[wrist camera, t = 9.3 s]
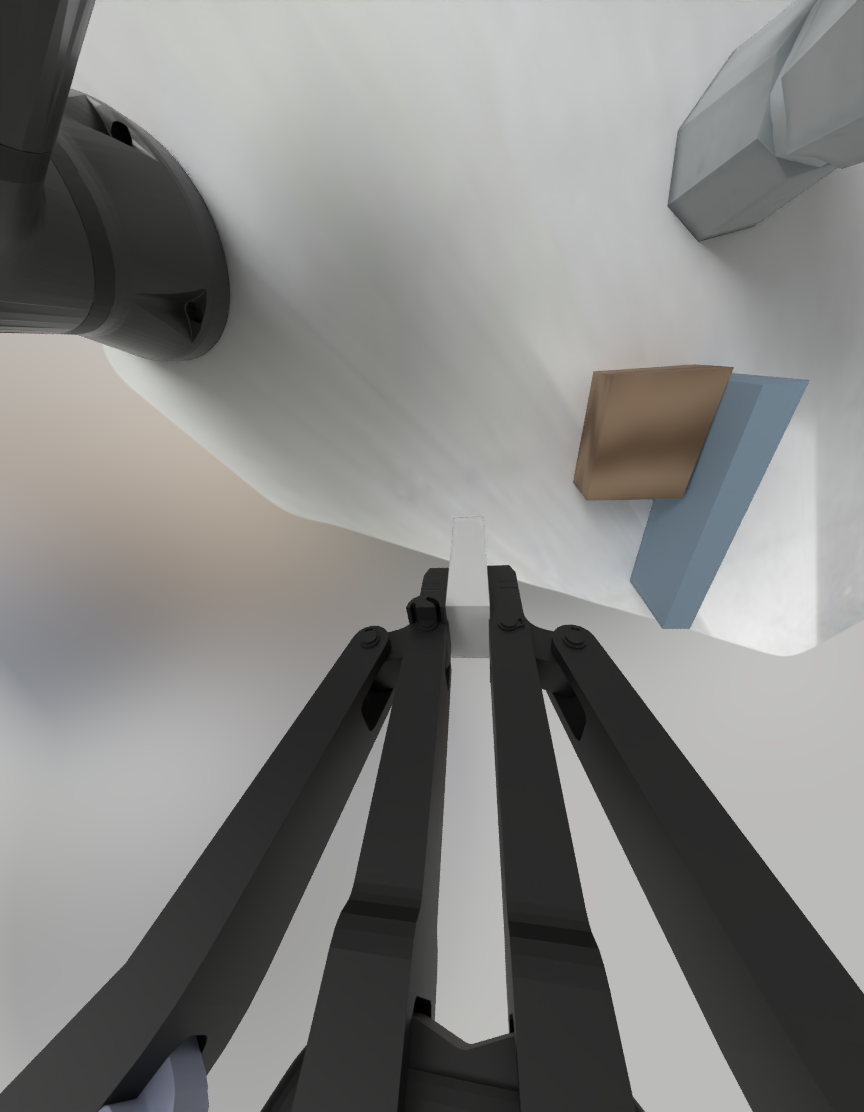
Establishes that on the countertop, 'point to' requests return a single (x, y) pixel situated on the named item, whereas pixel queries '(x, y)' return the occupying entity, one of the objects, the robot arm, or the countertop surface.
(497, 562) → the countertop surface
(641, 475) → the walnut block
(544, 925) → the robot arm
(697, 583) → the slate board
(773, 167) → the coffee maker
